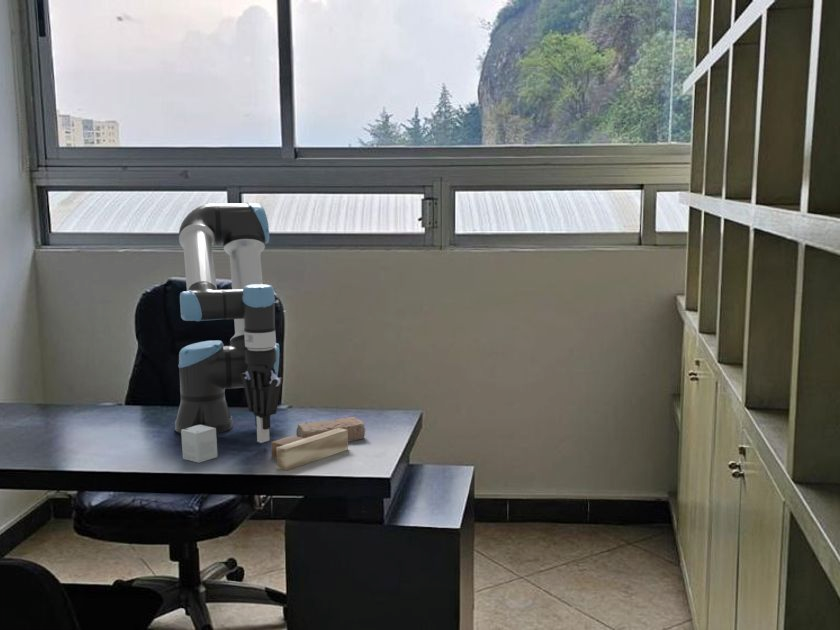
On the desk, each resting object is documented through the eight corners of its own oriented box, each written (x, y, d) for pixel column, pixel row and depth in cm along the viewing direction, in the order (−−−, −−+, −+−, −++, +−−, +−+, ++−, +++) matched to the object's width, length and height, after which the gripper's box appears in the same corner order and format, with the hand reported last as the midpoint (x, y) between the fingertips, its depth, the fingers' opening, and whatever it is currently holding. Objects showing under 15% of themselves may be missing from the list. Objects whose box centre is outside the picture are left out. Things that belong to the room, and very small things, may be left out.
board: (276, 468, 205) (276, 447, 205) (339, 447, 222) (338, 427, 221) (286, 470, 204) (285, 449, 203) (348, 449, 220) (347, 429, 219)
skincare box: (218, 457, 214) (216, 427, 213) (197, 463, 210) (196, 433, 209) (202, 453, 218) (200, 423, 217) (181, 459, 213) (180, 429, 212)
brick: (303, 447, 223) (303, 429, 222) (295, 439, 230) (295, 421, 230) (366, 441, 229) (366, 423, 228) (356, 432, 237) (356, 415, 236)
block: (271, 458, 214) (271, 442, 214) (292, 451, 220) (291, 435, 219) (292, 463, 210) (291, 446, 210) (312, 456, 216) (312, 440, 215)
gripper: (230, 347, 218) (234, 440, 222) (267, 353, 210) (270, 449, 214) (253, 342, 224) (256, 433, 228) (290, 348, 216) (292, 442, 220)
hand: (263, 440), depth 221 cm, fingers closed
